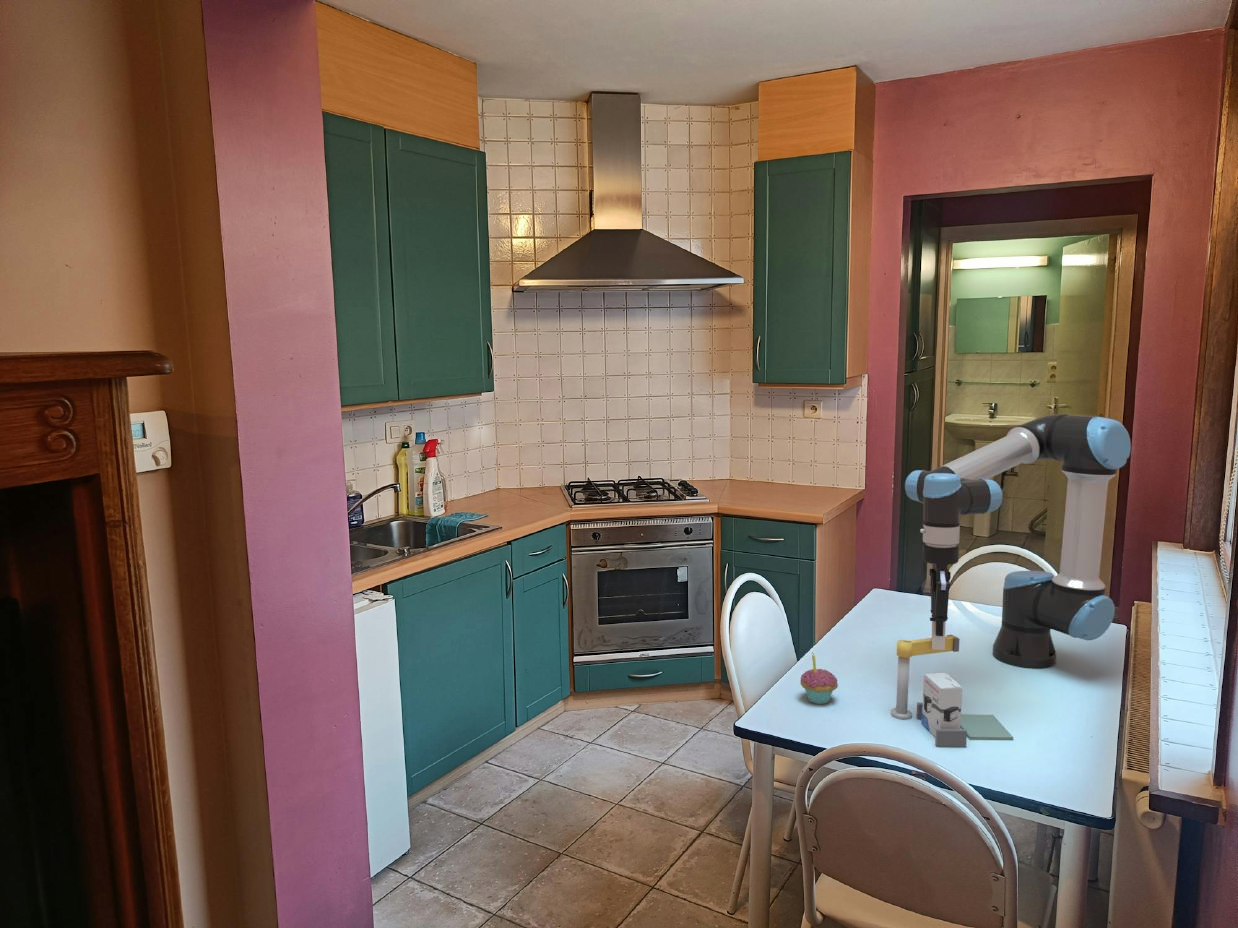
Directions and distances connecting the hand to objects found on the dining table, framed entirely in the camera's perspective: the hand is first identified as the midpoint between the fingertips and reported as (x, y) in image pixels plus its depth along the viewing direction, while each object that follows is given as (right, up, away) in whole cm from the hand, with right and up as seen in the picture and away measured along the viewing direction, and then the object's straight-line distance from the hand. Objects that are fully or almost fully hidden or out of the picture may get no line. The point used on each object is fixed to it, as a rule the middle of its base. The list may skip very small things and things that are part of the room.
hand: (938, 648), depth 192 cm
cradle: (-4, -16, -4) cm, 17 cm away
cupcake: (-24, -14, +11) cm, 30 cm away
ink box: (-2, -17, -6) cm, 18 cm away
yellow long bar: (-2, -1, +2) cm, 3 cm away
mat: (+8, -16, -4) cm, 19 cm away
